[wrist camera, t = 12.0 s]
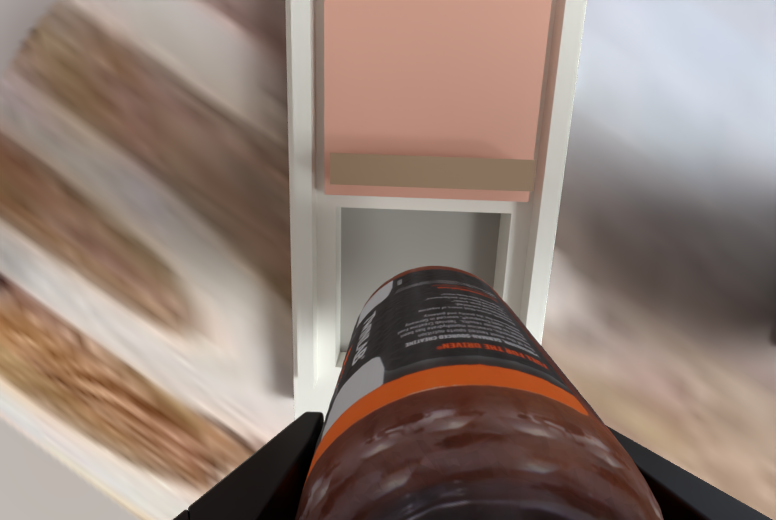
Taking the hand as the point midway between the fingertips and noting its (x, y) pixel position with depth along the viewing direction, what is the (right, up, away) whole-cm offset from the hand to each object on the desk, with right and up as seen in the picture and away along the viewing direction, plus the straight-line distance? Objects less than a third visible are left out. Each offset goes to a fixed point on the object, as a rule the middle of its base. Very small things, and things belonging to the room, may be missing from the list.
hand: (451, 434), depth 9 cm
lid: (0, +11, +8) cm, 14 cm away
